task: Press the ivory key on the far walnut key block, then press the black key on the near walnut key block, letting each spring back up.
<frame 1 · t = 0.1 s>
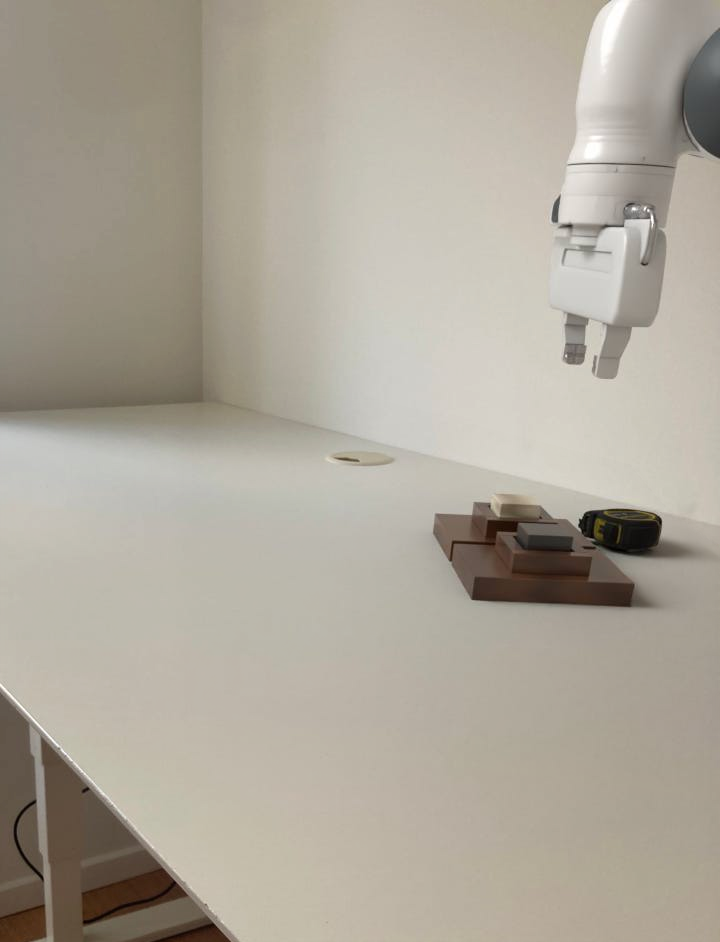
hand: (587, 370, 93), 19 cm above the table, tool pointing down, fingers open, 8 cm apart
key block near: (536, 585, 95), on the table
ivory key: (515, 507, 103), point 4 cm above the table, slide at 0.1 cm
key block far: (509, 549, 105), on the table
tape measure: (615, 547, 108), on the table
black key: (543, 538, 93), point 4 cm above the table, slide at 0.1 cm
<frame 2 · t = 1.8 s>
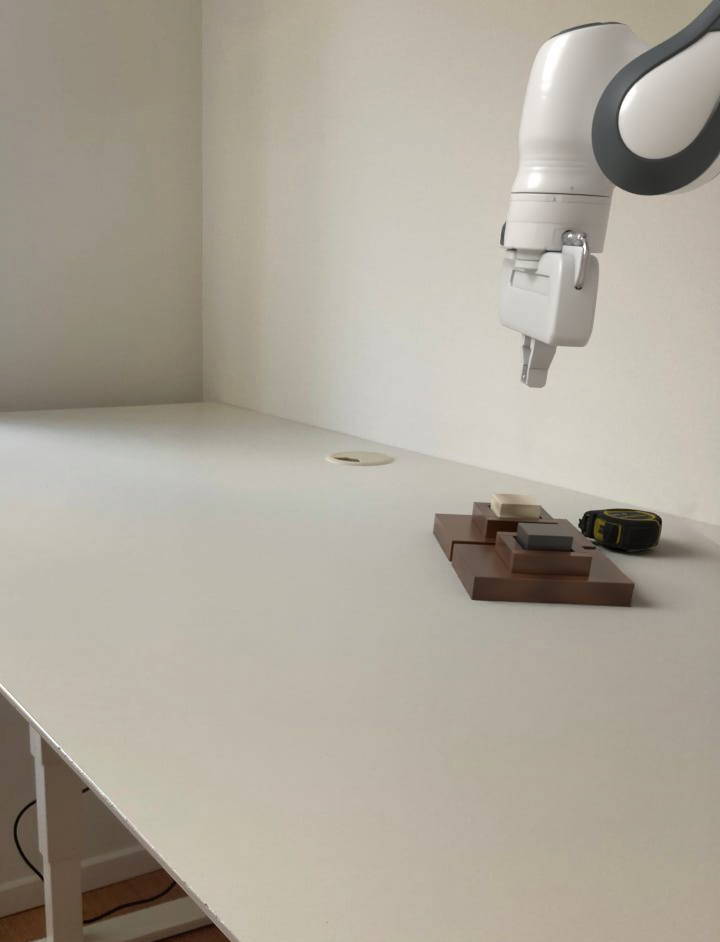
hand: (531, 385, 99), 16 cm above the table, tool pointing down, fingers closed
nothing on the table moved.
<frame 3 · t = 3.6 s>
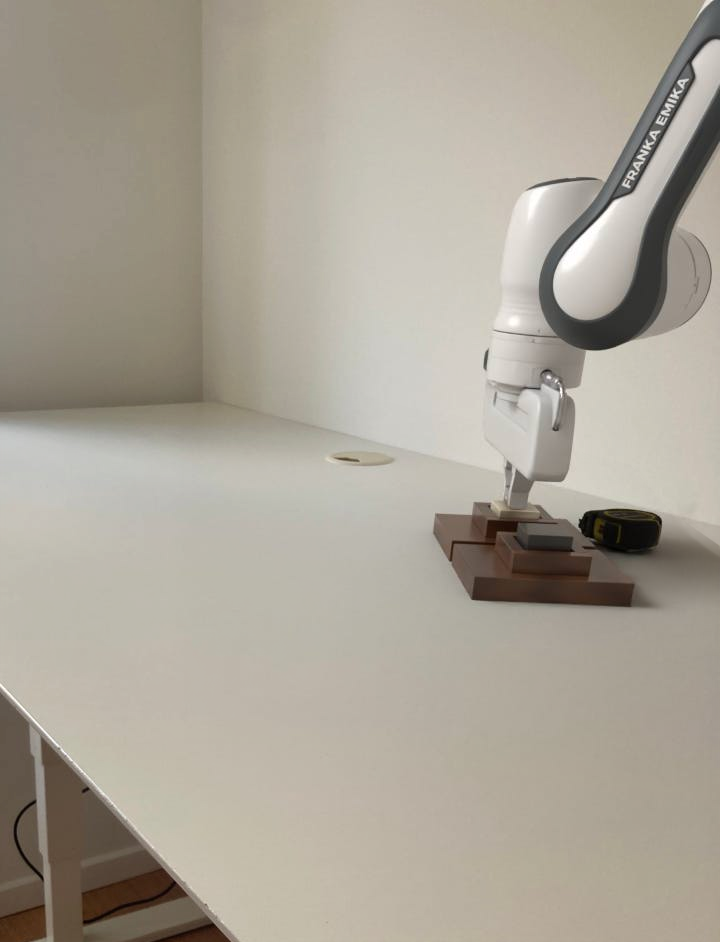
hand: (513, 505, 103), 5 cm above the table, tool pointing down, fingers closed, pressing on ivory key
ivory key: (514, 514, 103), point 4 cm above the table, slide at -0.6 cm, touching gripper
everything else where it was.
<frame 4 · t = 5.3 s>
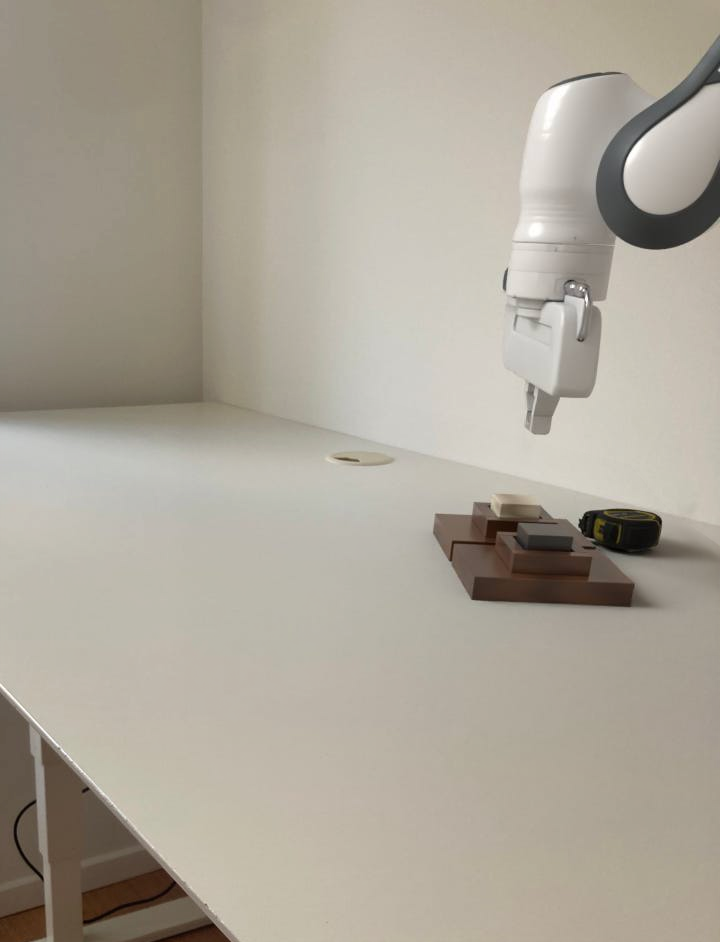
hand: (536, 431, 98), 13 cm above the table, tool pointing down, fingers closed
ivory key: (515, 507, 103), point 4 cm above the table, slide at 0.1 cm
everything else where it was.
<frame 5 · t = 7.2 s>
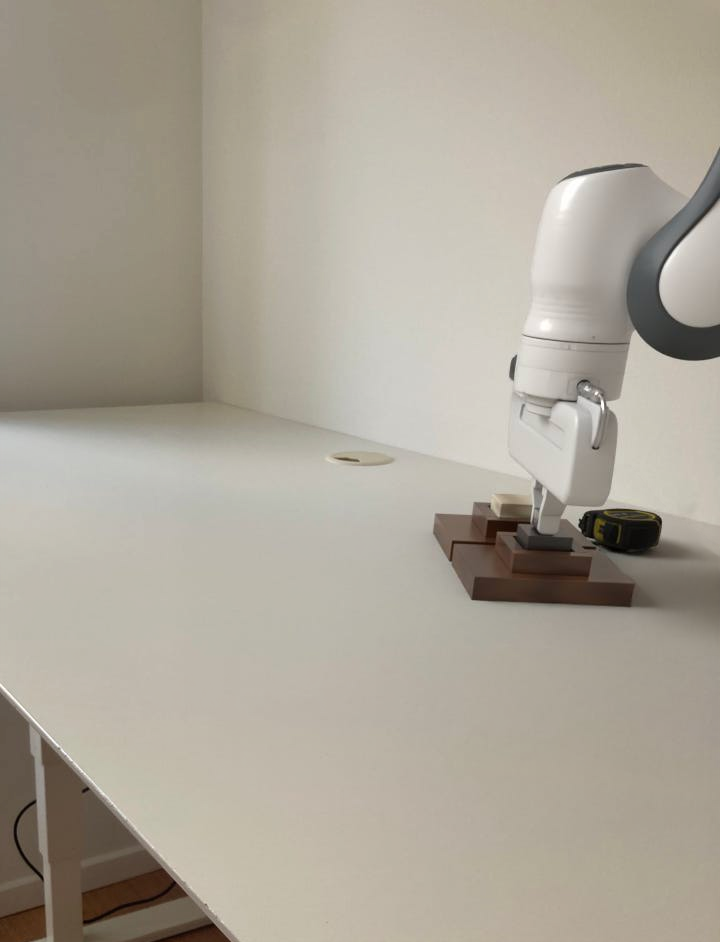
hand: (543, 530, 92), 5 cm above the table, tool pointing down, fingers closed, pressing on black key
black key: (543, 539, 93), point 4 cm above the table, slide at 0.0 cm, touching gripper
everything else where it was.
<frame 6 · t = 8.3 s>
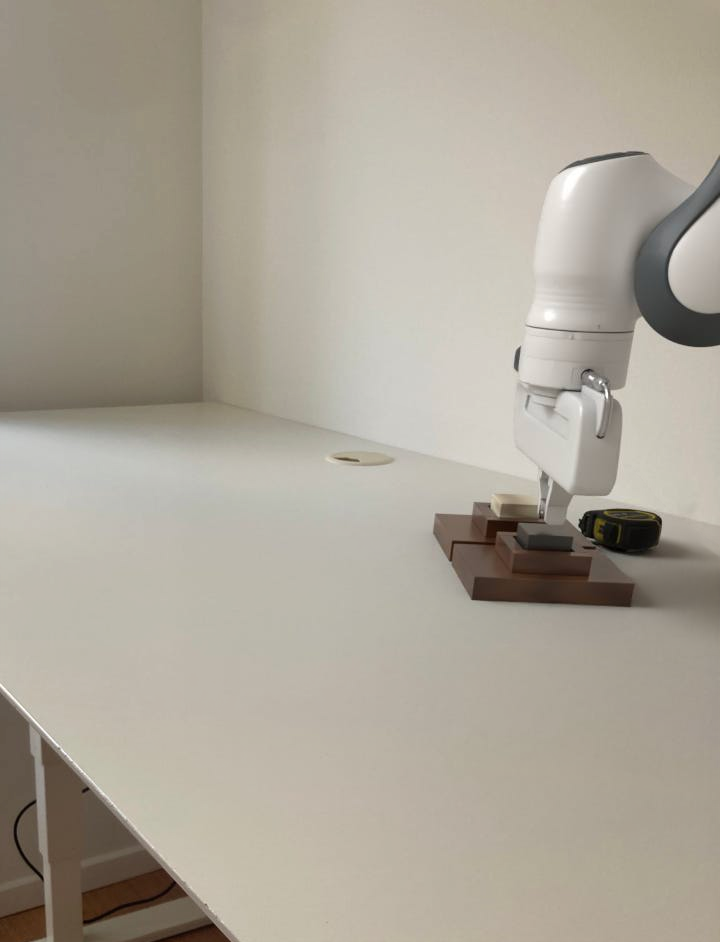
hand: (550, 521, 92), 6 cm above the table, tool pointing down, fingers closed
black key: (543, 538, 93), point 4 cm above the table, slide at 0.1 cm
everything else where it was.
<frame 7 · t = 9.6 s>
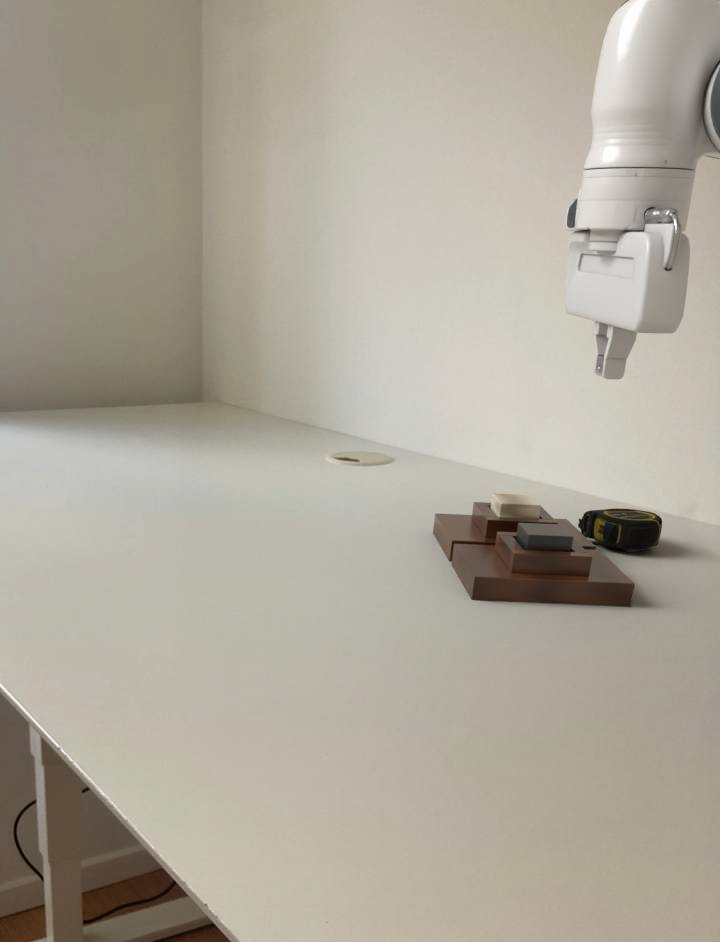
hand: (607, 377, 91), 18 cm above the table, tool pointing down, fingers closed
nothing on the table moved.
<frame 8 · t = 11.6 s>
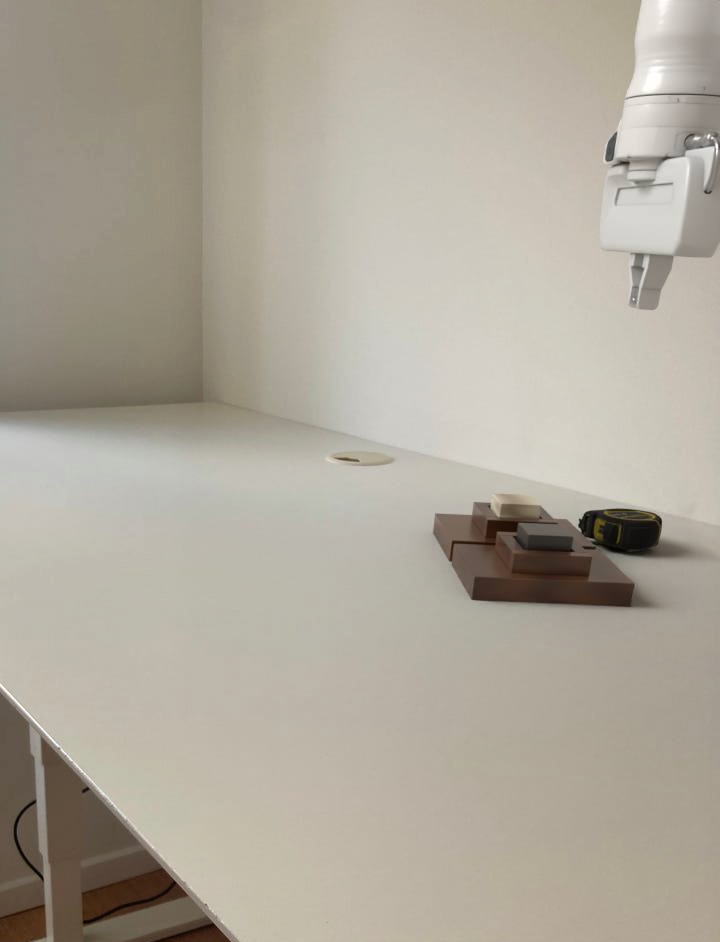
hand: (641, 308, 93), 24 cm above the table, tool pointing down, fingers closed
nothing on the table moved.
at the end: ivory key pushed in 1.1 cm at the most during the clip, back to where it started at the end; black key pushed in 1.1 cm at the most during the clip, back to where it started at the end; black key slide at 0.1 cm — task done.
